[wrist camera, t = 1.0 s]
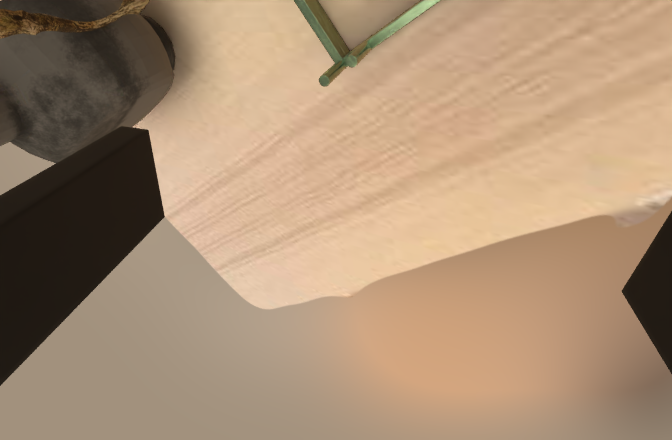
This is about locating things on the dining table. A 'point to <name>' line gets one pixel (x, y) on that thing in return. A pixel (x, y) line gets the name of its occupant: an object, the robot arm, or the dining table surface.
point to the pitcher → (77, 71)
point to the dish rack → (336, 45)
